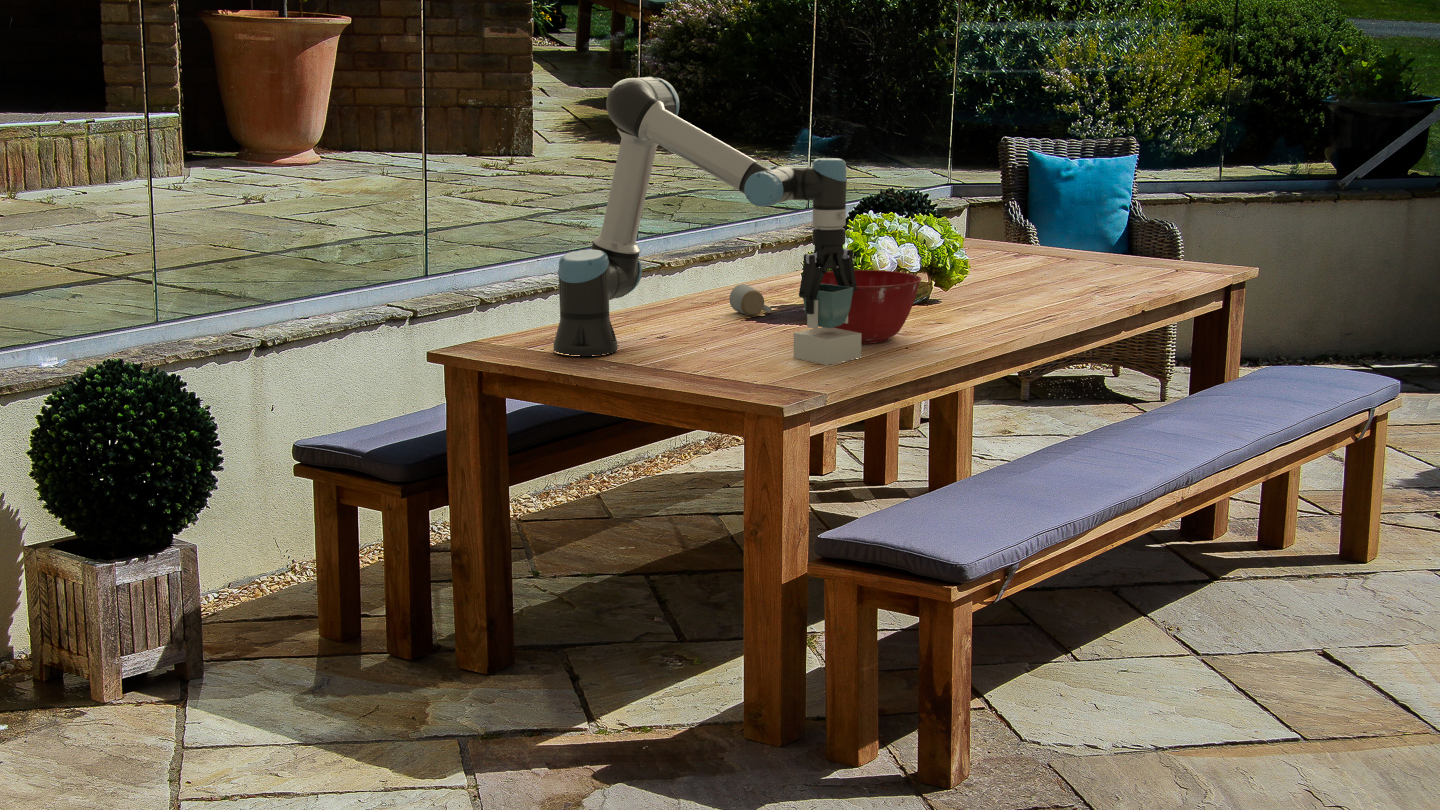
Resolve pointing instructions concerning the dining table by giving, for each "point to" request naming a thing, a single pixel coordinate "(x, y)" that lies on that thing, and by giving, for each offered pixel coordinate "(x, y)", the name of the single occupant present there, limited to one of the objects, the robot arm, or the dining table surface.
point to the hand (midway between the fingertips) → (827, 325)
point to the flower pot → (832, 304)
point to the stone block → (827, 345)
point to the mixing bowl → (878, 303)
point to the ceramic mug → (747, 300)
